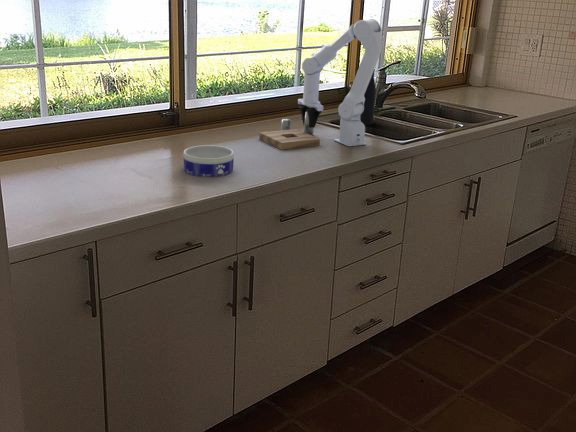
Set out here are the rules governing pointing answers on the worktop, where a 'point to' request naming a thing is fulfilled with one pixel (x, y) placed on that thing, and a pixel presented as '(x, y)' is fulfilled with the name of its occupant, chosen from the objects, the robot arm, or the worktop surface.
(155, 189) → the worktop surface
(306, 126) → the long pin
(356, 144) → the robot arm
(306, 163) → the worktop surface
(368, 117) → the wine bottle
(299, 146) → the hole plate
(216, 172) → the dog bowl
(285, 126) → the short pin
